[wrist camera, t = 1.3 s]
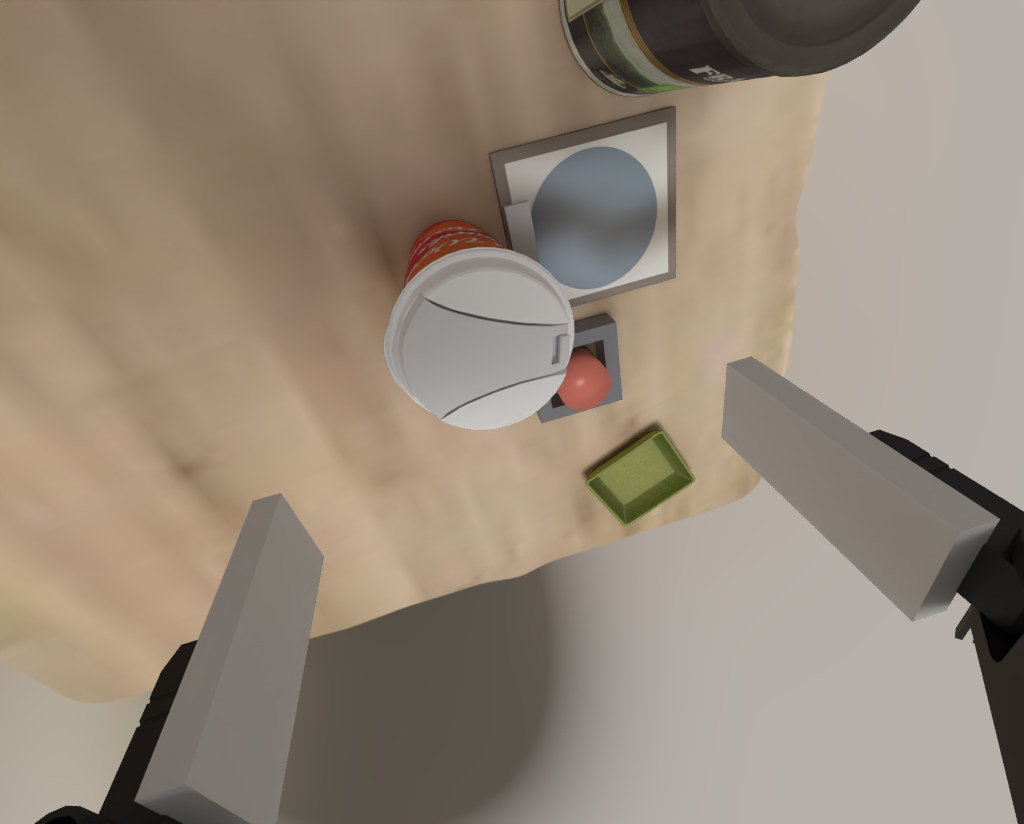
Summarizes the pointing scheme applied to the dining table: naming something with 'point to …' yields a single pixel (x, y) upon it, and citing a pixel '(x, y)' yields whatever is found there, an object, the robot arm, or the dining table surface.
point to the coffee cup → (477, 329)
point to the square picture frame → (595, 204)
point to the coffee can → (720, 39)
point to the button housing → (606, 341)
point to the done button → (584, 381)
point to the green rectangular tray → (640, 477)
